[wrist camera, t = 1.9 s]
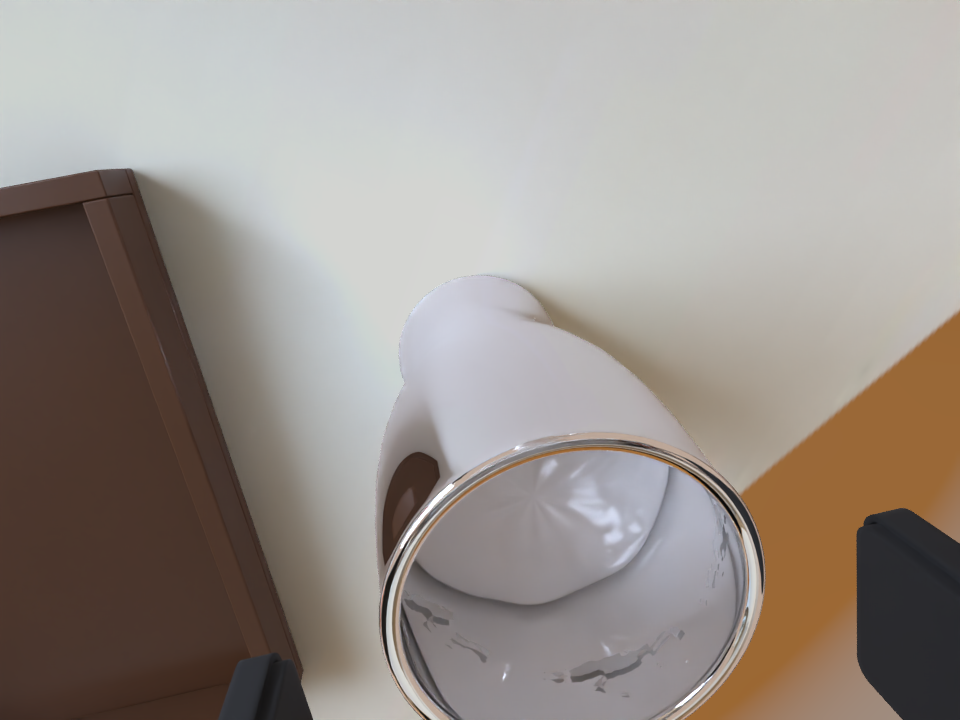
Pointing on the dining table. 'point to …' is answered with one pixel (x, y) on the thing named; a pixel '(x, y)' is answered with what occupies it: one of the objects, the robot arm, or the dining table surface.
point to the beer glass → (549, 527)
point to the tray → (114, 476)
